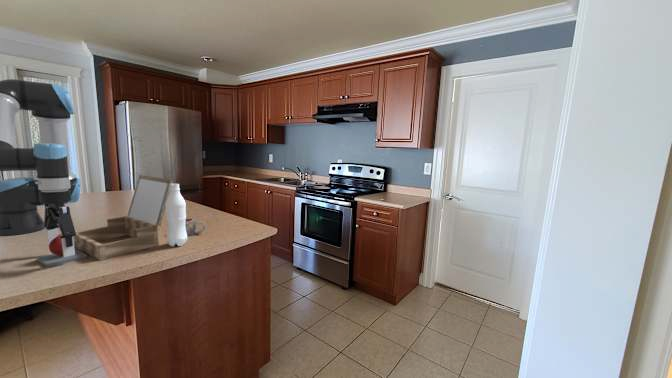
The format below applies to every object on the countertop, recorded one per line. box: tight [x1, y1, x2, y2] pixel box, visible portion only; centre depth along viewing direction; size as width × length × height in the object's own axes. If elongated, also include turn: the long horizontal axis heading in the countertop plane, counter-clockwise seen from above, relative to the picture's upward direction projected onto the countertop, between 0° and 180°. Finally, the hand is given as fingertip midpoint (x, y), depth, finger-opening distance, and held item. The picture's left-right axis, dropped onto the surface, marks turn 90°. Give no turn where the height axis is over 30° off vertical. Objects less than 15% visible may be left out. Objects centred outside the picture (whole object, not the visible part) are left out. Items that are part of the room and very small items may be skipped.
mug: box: [185, 218, 206, 236], centre depth 126 cm, size 12×7×7 cm, turn 87°
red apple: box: [48, 232, 63, 256], centre depth 94 cm, size 6×6×8 cm
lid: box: [127, 174, 174, 227], centre depth 118 cm, size 25×19×1 cm
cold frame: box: [73, 215, 159, 261], centre depth 109 cm, size 25×19×8 cm
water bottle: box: [165, 183, 188, 247], centre depth 111 cm, size 7×7×25 cm
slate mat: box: [36, 248, 88, 268], centre depth 95 cm, size 10×10×1 cm
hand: (61, 251), depth 95 cm, fingers open, 13 cm apart
